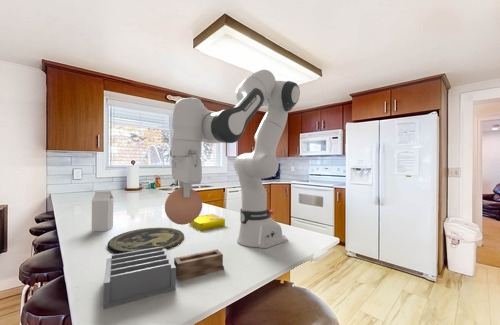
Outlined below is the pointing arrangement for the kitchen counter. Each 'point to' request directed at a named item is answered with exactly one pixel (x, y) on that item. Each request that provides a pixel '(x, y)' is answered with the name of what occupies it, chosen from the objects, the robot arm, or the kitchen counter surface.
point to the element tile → (208, 222)
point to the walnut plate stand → (198, 264)
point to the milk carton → (102, 211)
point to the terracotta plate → (183, 206)
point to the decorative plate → (145, 240)
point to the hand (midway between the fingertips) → (184, 196)
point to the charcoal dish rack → (138, 276)
